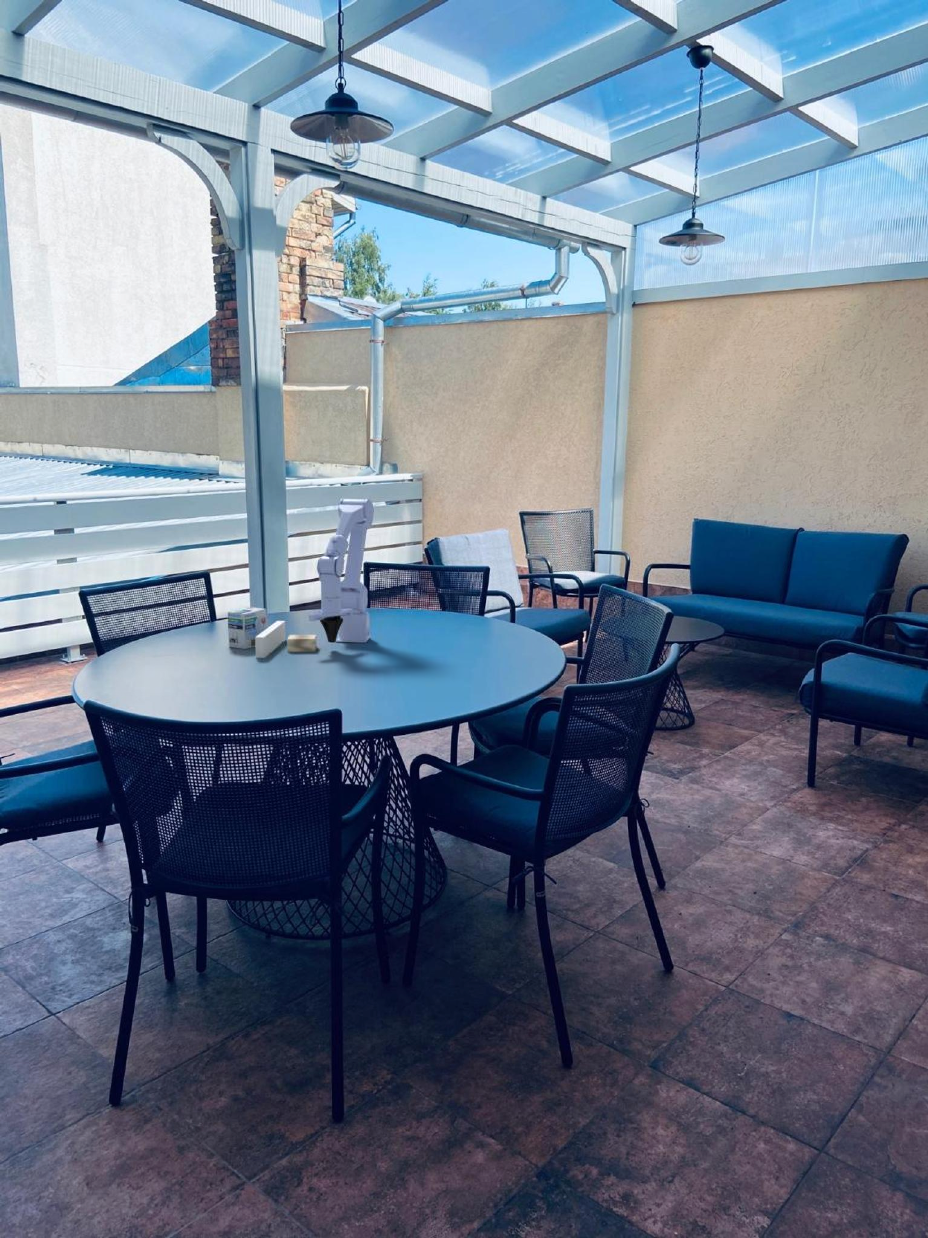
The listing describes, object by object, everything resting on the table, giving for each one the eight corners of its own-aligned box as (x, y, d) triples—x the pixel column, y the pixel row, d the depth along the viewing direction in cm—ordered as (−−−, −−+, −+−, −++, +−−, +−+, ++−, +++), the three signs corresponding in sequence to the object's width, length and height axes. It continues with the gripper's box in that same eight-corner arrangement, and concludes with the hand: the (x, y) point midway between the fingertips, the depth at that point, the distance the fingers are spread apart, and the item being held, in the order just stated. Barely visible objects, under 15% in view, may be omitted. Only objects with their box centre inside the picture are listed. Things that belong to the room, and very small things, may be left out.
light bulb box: (245, 649, 266) (244, 614, 263) (227, 647, 268) (226, 612, 266) (268, 642, 275) (267, 608, 273) (250, 640, 278) (249, 606, 276)
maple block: (316, 647, 270) (316, 634, 269) (314, 652, 264) (314, 639, 263) (289, 647, 269) (289, 634, 269) (287, 652, 263) (287, 639, 263)
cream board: (285, 639, 279) (285, 621, 278) (264, 658, 255) (263, 637, 254) (277, 639, 279) (277, 620, 278) (255, 657, 255) (255, 637, 254)
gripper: (342, 592, 271) (343, 636, 273) (302, 597, 261) (303, 643, 263) (357, 595, 266) (357, 640, 269) (316, 601, 256) (317, 647, 259)
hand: (331, 641), depth 266 cm, fingers closed
